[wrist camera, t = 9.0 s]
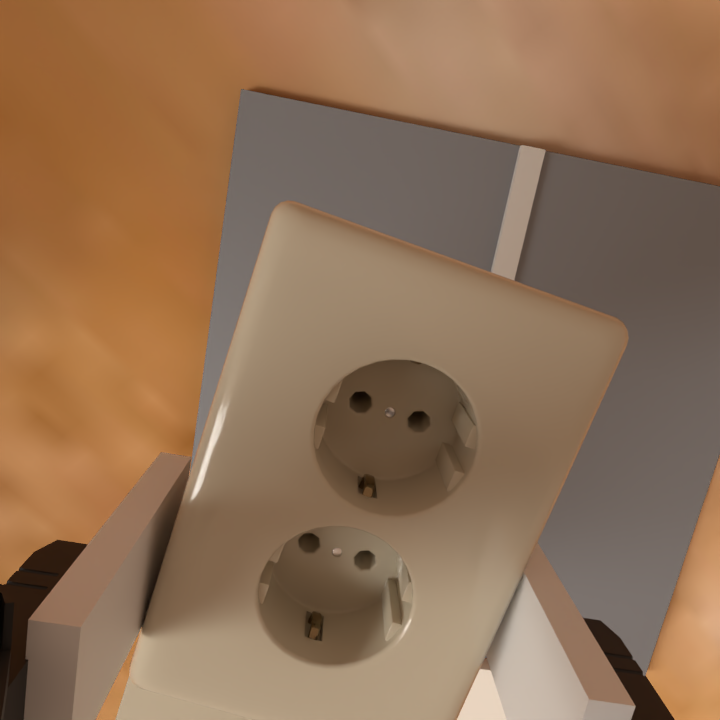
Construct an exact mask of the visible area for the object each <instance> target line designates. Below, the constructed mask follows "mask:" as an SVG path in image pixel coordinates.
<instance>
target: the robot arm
mask: <svg viewBox="0 0 720 720" xmlns="http://www.w3.org/2000/svg"><path fill="white" fill-rule="evenodd" d="M190 462H191V457H187V456H181V455H175V454H169V453H163V452H161V453H160V454H159V456H158V457H157V458H156V459H155V461H154V462H153V463H152V464H151V466H150V467H149V468H148V469H147V471H146V472H145V473H144V474H143V476H142V477H141V478H140V479H139V481H138V482H137V483H136V485H135V486H134V487H133V488H132V490H131V491H130V492H129V493H128V495H127V496H126V497H125V498H124V500H123V501H122V502H121V503H120V505H119V506H118V507H117V508H116V510H115V511H114V512H113V514H112V515H111V516H110V517H109V519H108V520H107V521H106V522H105V524H104V525H103V526H102V527H101V529H100V530H99V531H98V532H97V534H96V535H95V536H94V537H93V539H92V540H91V541H90V543H89V544H81V543H74V542H68V541H61V540H56V541H54V542H53V543H51V544H49V545H47V546H45V547H43V548H41V549H39V550H37V551H35V552H34V553H33V554H32V555H31V556H30V557H29V558H28V559H27V560H26V561H25V563H24V564H23V565H22V566H21V567H20V568H19V571H16V572H15V573H14V574H13V575H12V576H11V577H10V579H9V580H8V581H7V584H4V585H1V584H0V720H95V719H96V717H97V715H98V713H99V711H100V709H101V707H102V705H103V703H104V701H105V699H106V697H107V695H108V693H109V691H110V689H111V687H112V685H113V683H114V681H115V679H116V677H117V675H118V673H119V671H120V669H121V667H122V665H123V663H124V661H125V659H126V657H127V655H128V653H129V651H130V649H131V647H132V645H133V643H134V641H135V639H136V637H137V635H138V633H139V631H140V629H141V627H142V625H143V622H144V619H145V615H146V612H147V609H148V606H149V603H150V599H151V596H152V593H153V590H154V587H155V583H156V580H157V577H158V574H159V571H160V567H161V564H162V561H163V558H164V555H165V551H166V548H167V545H168V542H169V539H170V535H171V532H172V529H173V526H174V523H175V519H176V516H177V513H178V510H179V507H180V503H181V500H182V497H183V494H184V491H185V487H186V484H187V481H188V477H189V470H190ZM486 657H487V661H488V664H489V667H490V670H491V673H492V676H493V679H494V682H495V685H496V688H497V691H498V694H499V697H500V700H501V704H502V707H503V710H504V713H505V716H506V719H507V720H674V718H673V717H672V715H671V714H670V712H669V710H668V709H667V707H666V706H665V704H664V703H663V701H662V700H661V698H660V697H659V695H658V694H657V692H656V691H655V689H654V688H653V686H652V685H651V683H650V682H649V680H648V679H647V677H646V676H643V671H642V670H641V668H640V667H639V665H638V664H637V662H636V661H635V660H633V656H632V655H631V653H630V652H629V650H628V649H627V647H626V646H625V644H624V643H623V641H622V640H621V638H620V637H619V636H618V635H617V634H615V633H614V632H613V631H612V630H611V629H610V628H609V627H608V626H606V625H605V624H604V623H603V622H602V621H601V620H595V619H588V618H582V616H581V614H580V613H579V611H578V609H577V608H576V606H575V604H574V603H573V601H572V599H571V598H570V596H569V594H568V593H567V591H566V589H565V588H564V586H563V584H562V583H561V581H560V579H559V578H558V576H557V574H556V573H555V571H554V569H553V568H552V566H551V564H550V563H549V561H548V559H547V558H546V556H545V554H544V553H543V551H542V549H541V548H540V546H539V544H538V543H537V544H536V546H535V549H534V551H533V553H532V555H531V557H530V560H529V562H528V564H527V566H526V568H525V571H524V573H523V575H522V577H521V579H520V582H519V584H518V586H517V588H516V590H515V593H514V595H513V597H512V599H511V601H510V604H509V606H508V608H507V610H506V612H505V615H504V617H503V619H502V621H501V623H500V626H499V628H498V630H497V632H496V634H495V637H494V639H493V641H492V643H491V645H490V648H489V650H488V652H487V654H486Z"/></svg>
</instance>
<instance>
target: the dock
mask: <svg viewBox="0 0 720 720" xmlns="http://www.w3.org/2000/svg"><path fill="white" fill-rule="evenodd" d="M288 200H289V201H295V202H298V203H301V204H304V205H307V206H309V207H312V208H315V209H318V210H320V211H323V212H326V213H329V214H331V215H334V216H337V217H340V218H343V219H345V220H348V221H351V222H354V223H356V224H359V225H362V226H365V227H367V228H370V229H373V230H376V231H378V232H381V233H384V234H387V235H390V236H392V237H395V238H398V239H401V240H403V241H406V242H409V243H412V244H414V245H417V246H420V247H423V248H426V249H428V250H431V251H434V252H437V253H439V254H442V255H445V256H448V257H450V258H453V259H456V260H459V261H461V262H464V263H467V264H470V265H473V266H475V267H478V268H481V269H484V270H486V271H489V272H492V273H495V274H497V275H500V276H503V277H506V278H508V279H511V280H514V281H517V282H520V283H522V284H525V285H528V286H531V287H533V288H536V289H539V290H542V291H544V292H547V293H550V294H553V295H555V296H558V297H561V298H564V299H567V300H569V301H572V302H575V303H578V304H580V305H583V306H586V307H589V308H591V309H594V310H597V311H600V312H602V313H605V314H608V315H611V316H614V317H616V318H618V319H620V320H621V321H623V323H624V324H625V326H626V327H627V331H628V337H629V339H628V343H627V346H626V348H625V351H624V353H623V355H622V357H621V359H620V362H619V364H618V366H617V368H616V370H615V373H614V375H613V377H612V379H611V381H610V384H609V386H608V388H607V390H606V392H605V395H604V397H603V399H602V401H601V403H600V406H599V408H598V410H597V412H596V414H595V417H594V419H593V421H592V423H591V425H590V428H589V430H588V432H587V434H586V436H585V439H584V441H583V443H582V445H581V447H580V450H579V452H578V454H577V456H576V458H575V461H574V463H573V465H572V467H571V469H570V472H569V474H568V476H567V478H566V480H565V483H564V485H563V487H562V489H561V491H560V494H559V496H558V498H557V500H556V502H555V505H554V507H553V509H552V511H551V513H550V516H549V518H548V520H547V522H546V524H545V527H544V529H543V531H542V533H541V535H540V538H539V540H538V542H537V543H538V544H539V546H540V548H541V549H542V551H543V553H544V554H545V556H546V558H547V559H548V561H549V563H550V564H551V566H552V568H553V569H554V571H555V573H556V574H557V576H558V578H559V579H560V581H561V583H562V584H563V586H564V588H565V589H566V591H567V593H568V594H569V596H570V598H571V599H572V601H573V603H574V604H575V606H576V608H577V609H578V611H579V613H580V614H581V616H582V618H588V619H595V620H601V621H602V622H603V623H604V624H605V625H606V626H608V627H609V628H610V629H611V630H612V631H613V632H614V633H615V634H617V635H618V636H619V637H620V638H621V640H622V641H623V643H624V644H625V646H626V647H627V649H628V650H629V652H630V653H631V655H632V656H633V660H635V661H636V662H637V664H638V665H639V667H640V668H641V670H642V671H643V676H645V675H646V672H647V669H648V666H649V663H650V660H651V657H652V654H653V651H654V648H655V645H656V642H657V639H658V636H659V633H660V630H661V627H662V624H663V621H664V618H665V615H666V612H667V610H668V607H669V604H670V601H671V598H672V595H673V592H674V589H675V586H676V583H677V580H678V577H679V574H680V571H681V568H682V565H683V562H684V559H685V556H686V553H687V550H688V547H689V544H690V541H691V538H692V535H693V532H694V529H695V526H696V523H697V520H698V517H699V514H700V511H701V508H702V505H703V502H704V499H705V496H706V493H707V491H708V488H709V485H710V482H711V479H712V476H713V473H714V470H715V467H716V464H717V461H718V458H719V455H720V186H716V185H711V184H706V183H701V182H696V181H691V180H686V179H681V178H676V177H671V176H666V175H662V174H657V173H652V172H647V171H642V170H637V169H632V168H627V167H622V166H617V165H612V164H607V163H603V162H598V161H593V160H588V159H583V158H578V157H573V156H568V155H563V154H558V153H553V152H548V151H546V150H545V149H540V148H535V147H530V146H525V145H520V146H519V145H514V144H509V143H504V142H499V141H494V140H489V139H485V138H480V137H475V136H470V135H465V134H460V133H455V132H450V131H445V130H440V129H435V128H430V127H426V126H421V125H416V124H411V123H406V122H401V121H396V120H391V119H386V118H381V117H376V116H372V115H367V114H362V113H357V112H352V111H347V110H342V109H337V108H332V107H327V106H322V105H317V104H313V103H308V102H303V101H298V100H293V99H288V98H283V97H278V96H273V95H268V94H263V93H258V92H254V91H249V90H244V89H241V94H240V102H239V109H238V117H237V124H236V132H235V139H234V147H233V154H232V162H231V169H230V177H229V184H228V192H227V199H226V207H225V214H224V222H223V229H222V237H221V244H220V252H219V259H218V267H217V274H216V282H215V289H214V297H213V304H212V312H211V319H210V327H209V334H208V342H207V349H206V357H205V364H204V372H203V379H202V387H201V394H200V402H199V409H198V417H197V424H196V432H195V439H194V447H193V454H192V462H191V468H192V465H193V462H194V459H195V455H196V452H197V449H198V446H199V443H200V439H201V436H202V433H203V430H204V427H205V423H206V420H207V417H208V414H209V411H210V407H211V404H212V401H213V398H214V395H215V391H216V388H217V385H218V382H219V379H220V375H221V372H222V369H223V366H224V363H225V359H226V356H227V353H228V350H229V347H230V343H231V340H232V337H233V334H234V331H235V327H236V324H237V321H238V318H239V315H240V311H241V308H242V305H243V302H244V299H245V295H246V292H247V289H248V286H249V283H250V279H251V276H252V273H253V270H254V267H255V263H256V260H257V257H258V254H259V251H260V247H261V244H262V241H263V238H264V235H265V231H266V228H267V225H268V222H269V219H270V215H271V213H272V211H273V209H274V207H275V206H277V205H278V204H279V203H281V202H284V201H288ZM190 471H191V469H190ZM485 658H487V657H486V656H485ZM457 720H507V719H506V716H505V713H504V710H503V707H502V704H501V700H500V697H499V694H498V691H497V688H496V685H495V682H494V679H493V676H492V673H491V670H490V667H489V664H488V661H487V659H484V661H483V663H482V665H481V667H480V670H479V672H478V674H477V676H476V678H475V681H474V683H473V685H472V687H471V689H470V692H469V694H468V696H467V698H466V700H465V703H464V705H463V707H462V709H461V711H460V714H459V716H458V718H457Z"/></svg>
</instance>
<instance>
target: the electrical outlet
mask: <svg viewBox="0 0 720 720" xmlns="http://www.w3.org/2000/svg"><path fill="white" fill-rule="evenodd" d="M628 339H629V337H628V331H627V327H626V326H625V324H624V323H623V321H621V320H620V319H618V318H616V317H614V316H611V315H608V314H605V313H602V312H600V311H597V310H594V309H591V308H589V307H586V306H583V305H580V304H578V303H575V302H572V301H569V300H567V299H564V298H561V297H558V296H555V295H553V294H550V293H547V292H544V291H542V290H539V289H536V288H533V287H531V286H528V285H525V284H522V283H520V282H517V281H514V280H511V279H508V278H506V277H503V276H500V275H497V274H495V273H492V272H489V271H486V270H484V269H481V268H478V267H475V266H473V265H470V264H467V263H464V262H461V261H459V260H456V259H453V258H450V257H448V256H445V255H442V254H439V253H437V252H434V251H431V250H428V249H426V248H423V247H420V246H417V245H414V244H412V243H409V242H406V241H403V240H401V239H398V238H395V237H392V236H390V235H387V234H384V233H381V232H378V231H376V230H373V229H370V228H367V227H365V226H362V225H359V224H356V223H354V222H351V221H348V220H345V219H343V218H340V217H337V216H334V215H331V214H329V213H326V212H323V211H320V210H318V209H315V208H312V207H309V206H307V205H304V204H301V203H298V202H295V201H289V200H288V201H284V202H281V203H279V204H278V205H277V206H275V207H274V209H273V211H272V213H271V215H270V219H269V222H268V225H267V228H266V231H265V235H264V238H263V241H262V244H261V247H260V251H259V254H258V257H257V260H256V263H255V267H254V270H253V273H252V276H251V279H250V283H249V286H248V289H247V292H246V295H245V299H244V302H243V305H242V308H241V311H240V315H239V318H238V321H237V324H236V327H235V331H234V334H233V337H232V340H231V343H230V347H229V350H228V353H227V356H226V359H225V363H224V366H223V369H222V372H221V375H220V379H219V382H218V385H217V388H216V391H215V395H214V398H213V401H212V404H211V407H210V411H209V414H208V417H207V420H206V423H205V427H204V430H203V433H202V436H201V439H200V443H199V446H198V449H197V452H196V455H195V459H194V462H193V465H192V468H191V471H190V475H189V478H188V481H187V484H186V487H185V491H184V494H183V497H182V500H181V503H180V507H179V510H178V513H177V516H176V519H175V523H174V526H173V529H172V532H171V535H170V539H169V542H168V545H167V548H166V551H165V555H164V558H163V561H162V564H161V567H160V571H159V574H158V577H157V580H156V583H155V587H154V590H153V593H152V596H151V599H150V603H149V606H148V609H147V612H146V615H145V619H144V622H143V625H142V628H141V631H140V635H139V638H138V641H137V644H136V647H135V651H134V654H133V657H132V660H131V663H130V675H129V679H128V682H127V685H126V688H125V691H124V694H123V698H122V701H121V704H120V707H119V710H118V714H117V717H116V720H457V718H458V716H459V714H460V711H461V709H462V707H463V705H464V703H465V700H466V698H467V696H468V694H469V692H470V689H471V687H472V685H473V683H474V681H475V678H476V676H477V674H478V672H479V670H480V667H481V665H482V663H483V661H484V659H485V656H486V654H487V652H488V650H489V648H490V645H491V643H492V641H493V639H494V637H495V634H496V632H497V630H498V628H499V626H500V623H501V621H502V619H503V617H504V615H505V612H506V610H507V608H508V606H509V604H510V601H511V599H512V597H513V595H514V593H515V590H516V588H517V586H518V584H519V582H520V579H521V577H522V575H523V573H524V571H525V568H526V566H527V564H528V562H529V560H530V557H531V555H532V553H533V551H534V549H535V546H536V544H537V542H538V540H539V538H540V535H541V533H542V531H543V529H544V527H545V524H546V522H547V520H548V518H549V516H550V513H551V511H552V509H553V507H554V505H555V502H556V500H557V498H558V496H559V494H560V491H561V489H562V487H563V485H564V483H565V480H566V478H567V476H568V474H569V472H570V469H571V467H572V465H573V463H574V461H575V458H576V456H577V454H578V452H579V450H580V447H581V445H582V443H583V441H584V439H585V436H586V434H587V432H588V430H589V428H590V425H591V423H592V421H593V419H594V417H595V414H596V412H597V410H598V408H599V406H600V403H601V401H602V399H603V397H604V395H605V392H606V390H607V388H608V386H609V384H610V381H611V379H612V377H613V375H614V373H615V370H616V368H617V366H618V364H619V362H620V359H621V357H622V355H623V353H624V351H625V348H626V346H627V343H628Z"/></svg>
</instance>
